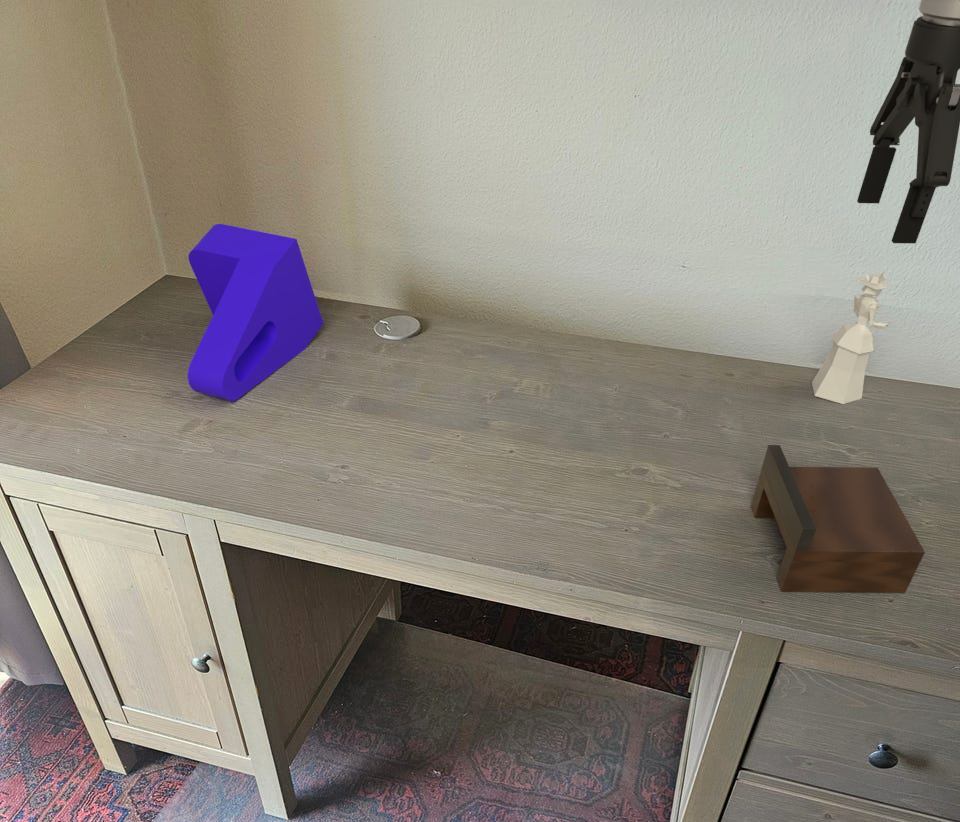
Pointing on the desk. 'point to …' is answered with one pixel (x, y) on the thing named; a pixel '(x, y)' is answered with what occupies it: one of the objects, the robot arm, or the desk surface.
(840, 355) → the figurine
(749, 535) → the desk surface
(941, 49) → the robot arm
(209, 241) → the bracket
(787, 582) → the brown wooden block
